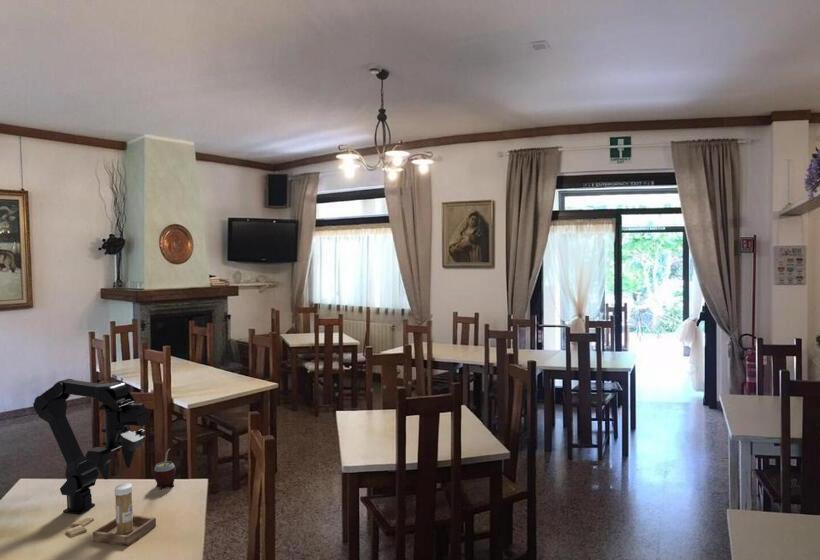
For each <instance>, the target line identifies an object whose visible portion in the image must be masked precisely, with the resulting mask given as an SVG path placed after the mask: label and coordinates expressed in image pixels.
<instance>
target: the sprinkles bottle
mask: <svg viewBox="0 0 820 560" xmlns="http://www.w3.org/2000/svg"><path fill="white" fill-rule="evenodd" d="M114 496H115V518H116V522H117V531H116V532H117V534H127V533H129V532H131V531H132V530H133V515H134V513H133V498H132V496H133V484H132V483H128V482H127V483H121V484H118V485H116V486H115V487H114Z"/></svg>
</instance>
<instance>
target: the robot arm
mask: <svg viewBox="0 0 820 560" xmlns="http://www.w3.org/2000/svg"><path fill="white" fill-rule="evenodd" d="M71 395H72V396H79V397H80V396H81V397H85V398H93V399H95V400H96V401H97V402H98V403H101V405H100V406H99V407H98V410H99V411H104V427H103V428H102V429H101V433H105V441H102V446H95V447H93V448H91V449H88V450H87V451H86V453H85V455H84V453H83V451H82V449H81V447H80V444H79V442H78V440H77V438H76V436H75V433H74V430H73V429H72V426H71V425H70V422H69V420H68V418H67V409H68V404H67V400H68V399H69V398H70V397H71ZM32 405H33V409H34V411H35V412H36V414H37V415H38V417H39V418H40V419H42V420H43V421H44V422H47V424H48V425H49V428H50V429H51V431H52V434H53V436H54V438H55V441H56V443H57V445H58V447H59V449H60V451H61V455H62V457H63V458H64V460H65V463H66V467H65V478H66V481H65V482H64V483H63V484H62V485H61V487H60V488H59V491H60V493H61V495H62V496H66V508H65V509H63V511H62V512H63V513H66V514H67V513H68V514H75V515H80V514H82V513H84V512H86V511H88V510H89V509H91V508H93V507H95V506H96V503H93V502H92V501H93V499H92V493H91V490H92V489H91V487H94V486H95V485H96V482H97V479H98V477H99V475H101V476H102V478H103V479H104V480H108V479H109V473H110V472H109V467H110V466H109V465H110V464H109V463H110V462H111V461H112V460H113V457H111V456H112V453H113V451H116V450H117V449H120V448H121V452H122V457H123V461H124V465H125V467H126V468H127V469H128V468H131V465H132V462H133V459H134V456H135V452H136V451H137V450H138V448H141V447H142V445H143V443H144V442H145V441H146V440H147V438H146V436H147V434H146V430H145V429H143V428H140V429H138V430H136V431H135V430H134V431H131V427H133V426H134V427H145V425H147V423H148V422H149V419H150V415H151V414H150V411H149V409H148V408H147V407H146V406H145V403H142V402H140V403H139V402H138V403H137V400H136V399H135V397H134V396H133V395H132V393H131V390H129V389H128V386H127V385H126V383H125V382H123V381H118V382H117V381H116V382H107V383H98V382H91V381H83V380H76V379H73V378H66V379H62V380H59V381H57V382H55V384H53V385H52V386H51V387H50V388H49V389H47V390H46V391H44V392H42V393H41V394H40V395H38V396H36V397H35V399H34V402H33V404H32ZM103 446H105V447H103ZM99 473H100V474H99Z"/></svg>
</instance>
